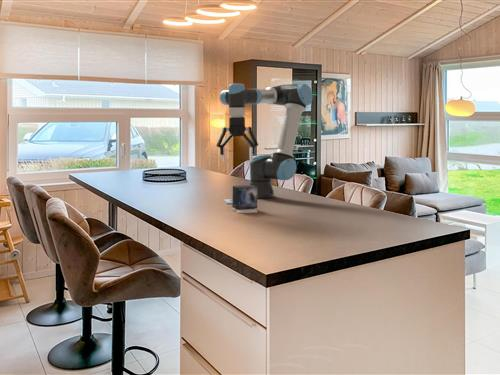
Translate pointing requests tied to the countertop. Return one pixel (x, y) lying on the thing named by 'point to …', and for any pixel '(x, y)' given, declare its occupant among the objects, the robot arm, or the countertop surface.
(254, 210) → the pad
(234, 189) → the small box
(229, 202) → the pad
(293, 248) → the countertop surface
